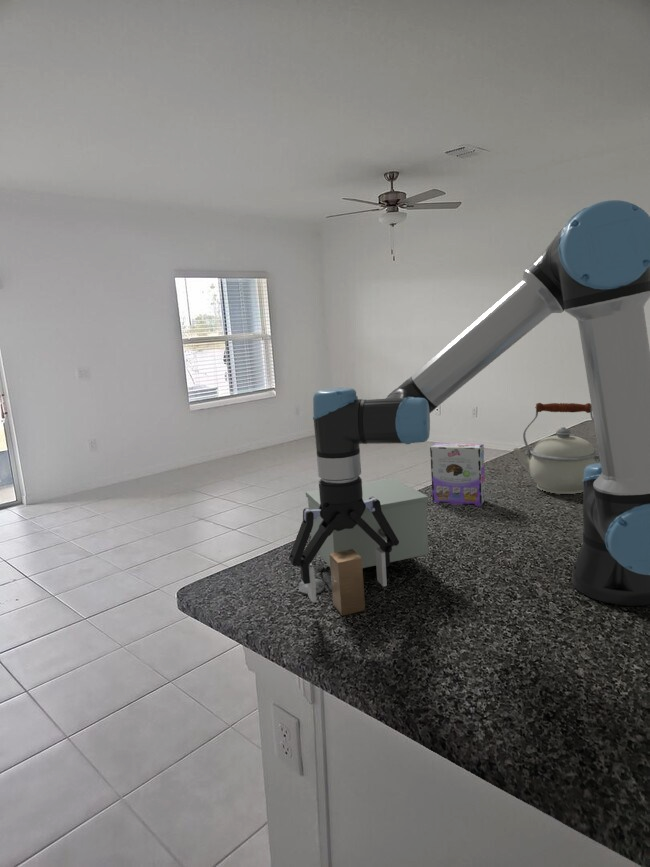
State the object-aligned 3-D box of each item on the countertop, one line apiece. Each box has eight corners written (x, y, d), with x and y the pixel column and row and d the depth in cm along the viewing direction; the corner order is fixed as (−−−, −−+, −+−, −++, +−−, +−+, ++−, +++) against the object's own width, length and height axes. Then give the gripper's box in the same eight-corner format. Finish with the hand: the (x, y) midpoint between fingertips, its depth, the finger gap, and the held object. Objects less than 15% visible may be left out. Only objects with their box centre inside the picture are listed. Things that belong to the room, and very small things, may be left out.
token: (326, 593, 107) (326, 587, 107) (301, 597, 107) (300, 591, 106) (321, 582, 112) (321, 577, 112) (297, 586, 111) (296, 580, 111)
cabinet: (433, 573, 112) (430, 497, 109) (337, 595, 106) (331, 515, 103) (396, 544, 128) (392, 477, 125) (311, 561, 122) (305, 491, 119)
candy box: (486, 500, 154) (484, 443, 152) (481, 507, 149) (480, 447, 146) (437, 497, 161) (435, 441, 158) (431, 503, 156) (429, 446, 153)
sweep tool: (365, 610, 99) (361, 557, 98) (341, 615, 98) (337, 562, 96) (336, 576, 114) (332, 530, 112) (315, 581, 112) (311, 534, 110)
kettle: (608, 482, 162) (610, 398, 158) (600, 501, 147) (602, 408, 143) (520, 476, 176) (519, 398, 171) (505, 492, 161) (504, 407, 156)
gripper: (395, 463, 104) (400, 569, 107) (265, 483, 96) (276, 596, 100) (414, 471, 97) (419, 585, 100) (275, 494, 89) (286, 615, 93)
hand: (347, 591), depth 100 cm, fingers open, 13 cm apart
